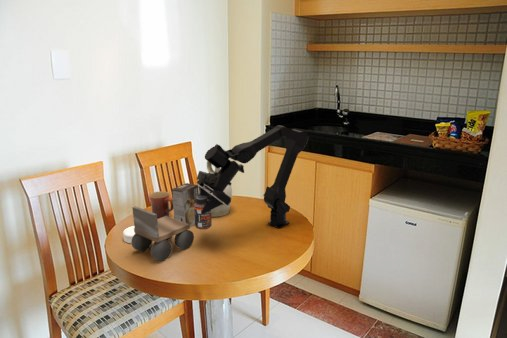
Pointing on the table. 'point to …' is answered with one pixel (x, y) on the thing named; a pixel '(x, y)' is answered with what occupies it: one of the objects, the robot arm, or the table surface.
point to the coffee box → (185, 202)
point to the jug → (223, 208)
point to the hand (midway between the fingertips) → (198, 210)
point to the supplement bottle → (202, 219)
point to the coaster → (128, 234)
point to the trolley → (159, 233)
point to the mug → (161, 203)
